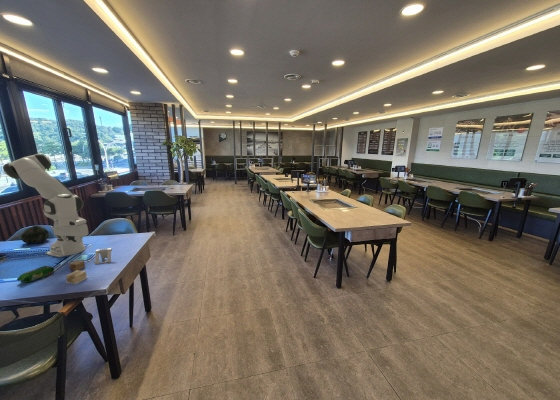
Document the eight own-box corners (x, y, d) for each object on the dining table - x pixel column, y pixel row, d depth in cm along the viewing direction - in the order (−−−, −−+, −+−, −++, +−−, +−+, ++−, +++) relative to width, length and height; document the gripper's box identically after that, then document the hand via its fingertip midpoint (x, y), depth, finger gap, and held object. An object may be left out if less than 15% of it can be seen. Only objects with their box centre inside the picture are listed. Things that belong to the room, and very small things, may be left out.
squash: (25, 233, 184) (19, 223, 174) (51, 231, 193) (47, 221, 183) (23, 249, 178) (17, 239, 168) (50, 245, 186) (45, 236, 177)
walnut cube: (70, 271, 140) (68, 264, 139) (78, 267, 144) (76, 260, 143) (77, 272, 139) (76, 264, 138) (85, 268, 144) (83, 260, 143)
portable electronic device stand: (94, 265, 148) (92, 253, 146) (98, 260, 155) (97, 248, 153) (110, 263, 151) (108, 251, 149) (113, 258, 158) (112, 247, 156)
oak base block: (67, 282, 127) (66, 275, 126) (77, 276, 133) (76, 270, 132) (76, 283, 126) (75, 276, 126) (86, 277, 132) (85, 271, 131)
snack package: (14, 284, 125) (12, 275, 124) (50, 270, 140) (48, 262, 139) (22, 286, 123) (20, 278, 122) (57, 272, 138) (56, 265, 137)
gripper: (48, 221, 133) (52, 243, 136) (78, 223, 131) (82, 245, 134) (59, 218, 139) (63, 239, 142) (88, 220, 137) (92, 241, 140)
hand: (72, 242), depth 138 cm, fingers open, 8 cm apart
